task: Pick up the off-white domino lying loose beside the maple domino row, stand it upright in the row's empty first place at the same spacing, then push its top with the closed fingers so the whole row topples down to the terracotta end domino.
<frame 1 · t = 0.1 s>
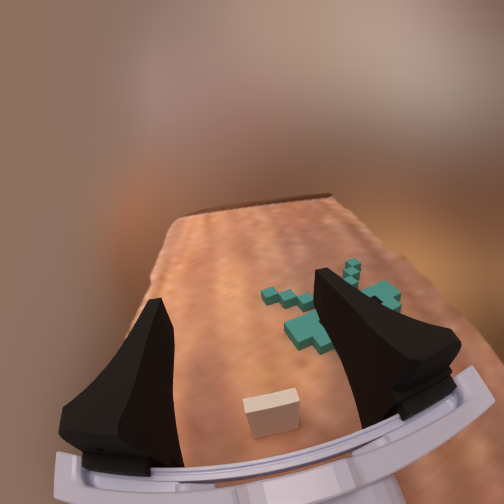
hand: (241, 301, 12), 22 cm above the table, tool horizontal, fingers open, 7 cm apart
loose domino: (274, 428, 25), on the table
alien figure: (343, 315, 41), on the table
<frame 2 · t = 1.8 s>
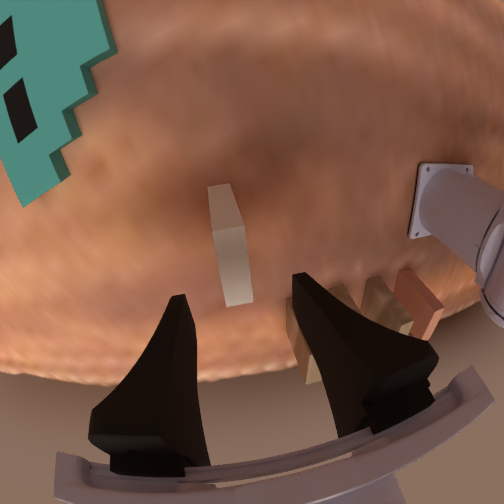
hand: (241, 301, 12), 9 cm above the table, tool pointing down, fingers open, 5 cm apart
domino 4: (369, 295, 28), on the table
domino 3: (333, 305, 28), on the table
loose domino: (223, 216, 20), on the table
alien figure: (8, 90, 11), on the table
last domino: (399, 286, 29), on the table
domino 2: (293, 314, 27), on the table
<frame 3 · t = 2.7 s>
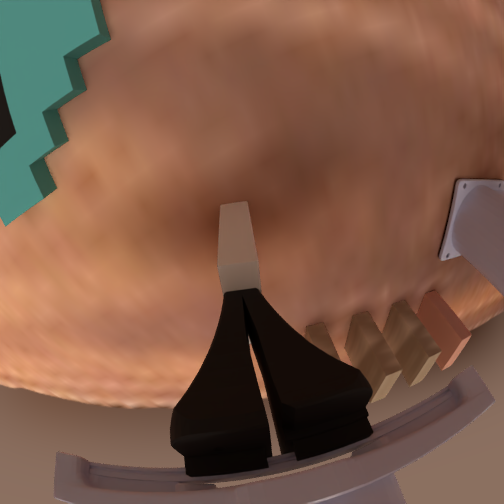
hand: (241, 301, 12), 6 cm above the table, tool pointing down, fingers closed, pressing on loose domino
domino 4: (392, 319, 25), on the table
domino 3: (355, 330, 24), on the table
loose domino: (238, 233, 18), on the table, touching gripper
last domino: (423, 308, 25), on the table
domino 2: (312, 341, 24), on the table
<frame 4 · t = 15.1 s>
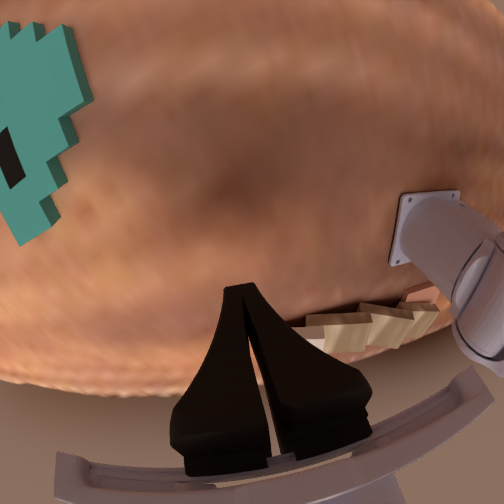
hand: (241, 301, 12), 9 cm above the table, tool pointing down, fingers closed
domino 4: (392, 321, 30), point 1 cm above the table, tilted 83°, touching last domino
domino 3: (353, 322, 29), point 1 cm above the table, tilted 66°, touching domino 2
loose domino: (256, 347, 28), point 1 cm above the table, tilted 73°
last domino: (399, 305, 30), on the table, tilted 90°, touching domino 4
domino 2: (305, 335, 28), point 1 cm above the table, tilted 72°, touching domino 3
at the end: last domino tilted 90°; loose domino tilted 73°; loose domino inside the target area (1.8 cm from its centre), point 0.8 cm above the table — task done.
